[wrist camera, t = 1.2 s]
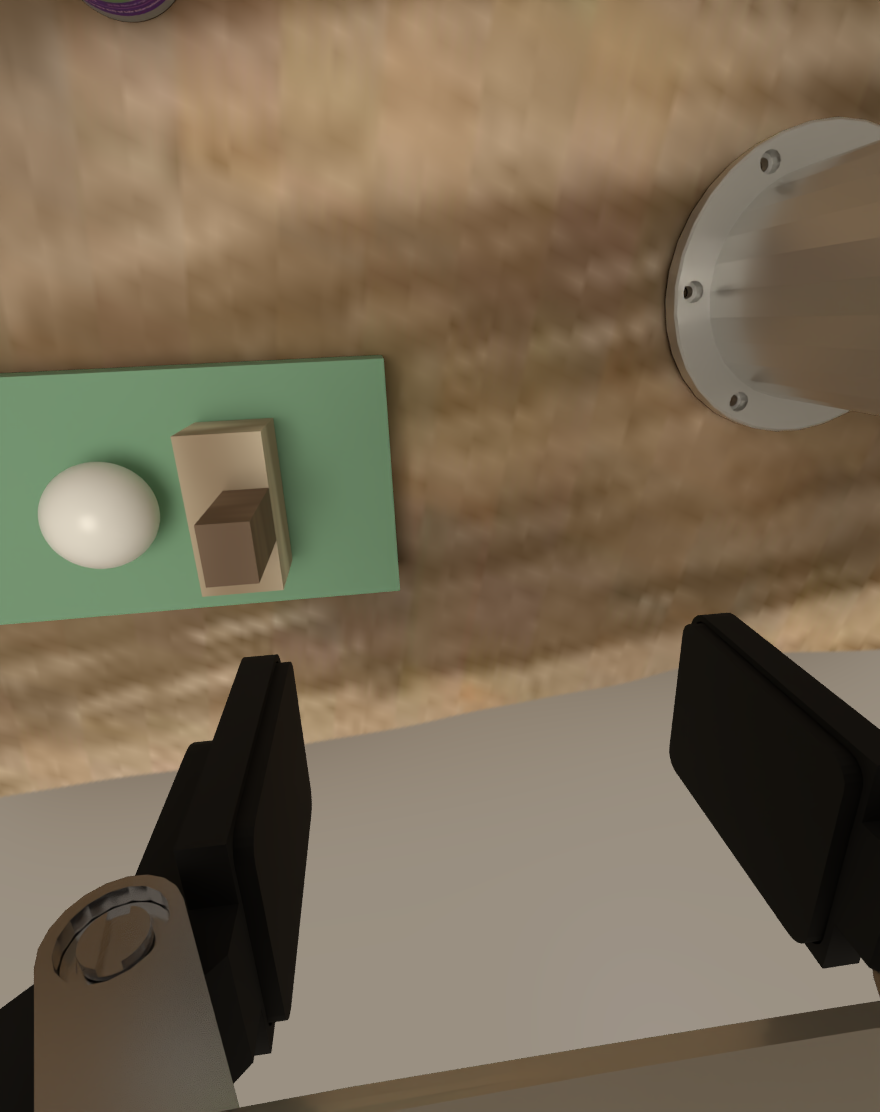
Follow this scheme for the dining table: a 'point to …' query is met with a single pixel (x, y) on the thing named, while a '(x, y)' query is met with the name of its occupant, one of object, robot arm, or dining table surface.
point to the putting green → (146, 449)
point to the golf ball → (98, 515)
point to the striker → (234, 505)
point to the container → (130, 8)
